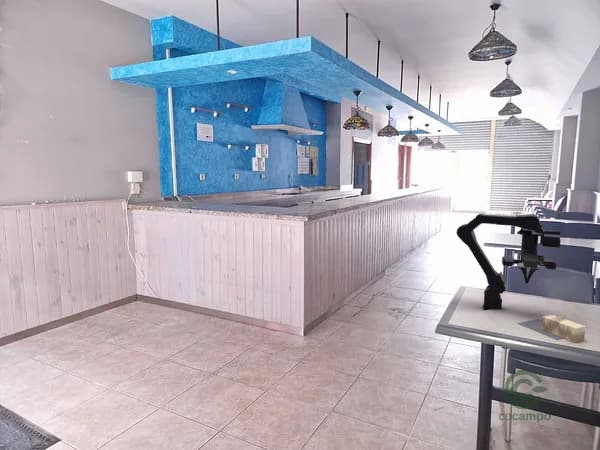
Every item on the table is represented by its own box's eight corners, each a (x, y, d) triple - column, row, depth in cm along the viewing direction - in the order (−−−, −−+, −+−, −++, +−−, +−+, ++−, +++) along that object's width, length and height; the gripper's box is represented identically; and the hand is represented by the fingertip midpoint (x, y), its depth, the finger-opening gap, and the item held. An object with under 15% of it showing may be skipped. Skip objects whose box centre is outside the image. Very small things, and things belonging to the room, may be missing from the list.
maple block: (542, 316, 144) (575, 328, 133) (551, 314, 146) (585, 326, 135) (541, 329, 145) (574, 342, 134) (550, 327, 147) (584, 340, 136)
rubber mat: (516, 324, 151) (516, 323, 151) (538, 320, 155) (538, 318, 155) (557, 341, 136) (557, 340, 136) (579, 335, 141) (580, 334, 140)
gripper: (505, 247, 154) (502, 286, 156) (561, 251, 147) (557, 291, 149) (502, 242, 164) (500, 278, 167) (554, 245, 157) (551, 283, 159)
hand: (526, 283), depth 160 cm, fingers closed
